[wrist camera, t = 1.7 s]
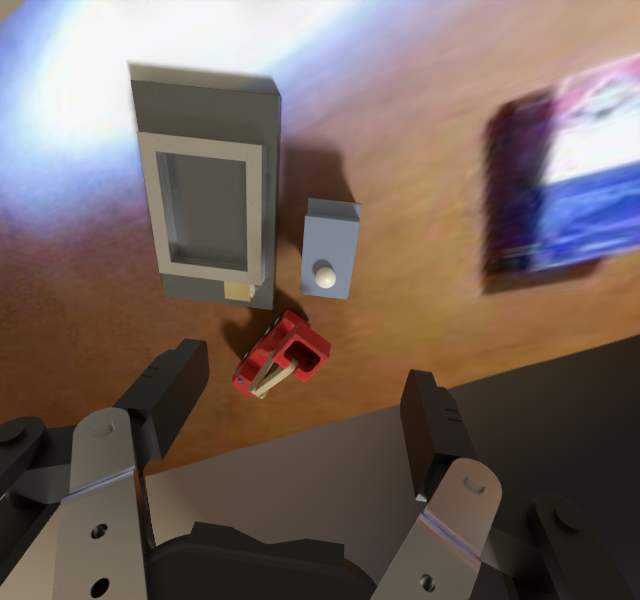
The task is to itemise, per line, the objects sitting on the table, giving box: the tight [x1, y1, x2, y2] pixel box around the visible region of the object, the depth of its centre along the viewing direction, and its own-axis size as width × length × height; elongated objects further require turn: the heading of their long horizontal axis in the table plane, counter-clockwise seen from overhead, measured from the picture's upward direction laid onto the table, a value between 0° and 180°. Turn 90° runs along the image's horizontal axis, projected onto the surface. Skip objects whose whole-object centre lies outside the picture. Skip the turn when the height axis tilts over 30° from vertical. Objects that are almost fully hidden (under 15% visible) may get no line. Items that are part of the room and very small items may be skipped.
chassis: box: [131, 80, 282, 310], centre depth 27 cm, size 11×18×3 cm, turn 175°
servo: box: [300, 198, 362, 300], centre depth 26 cm, size 4×8×6 cm, turn 175°
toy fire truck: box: [232, 309, 331, 399], centre depth 29 cm, size 3×14×10 cm, turn 141°
